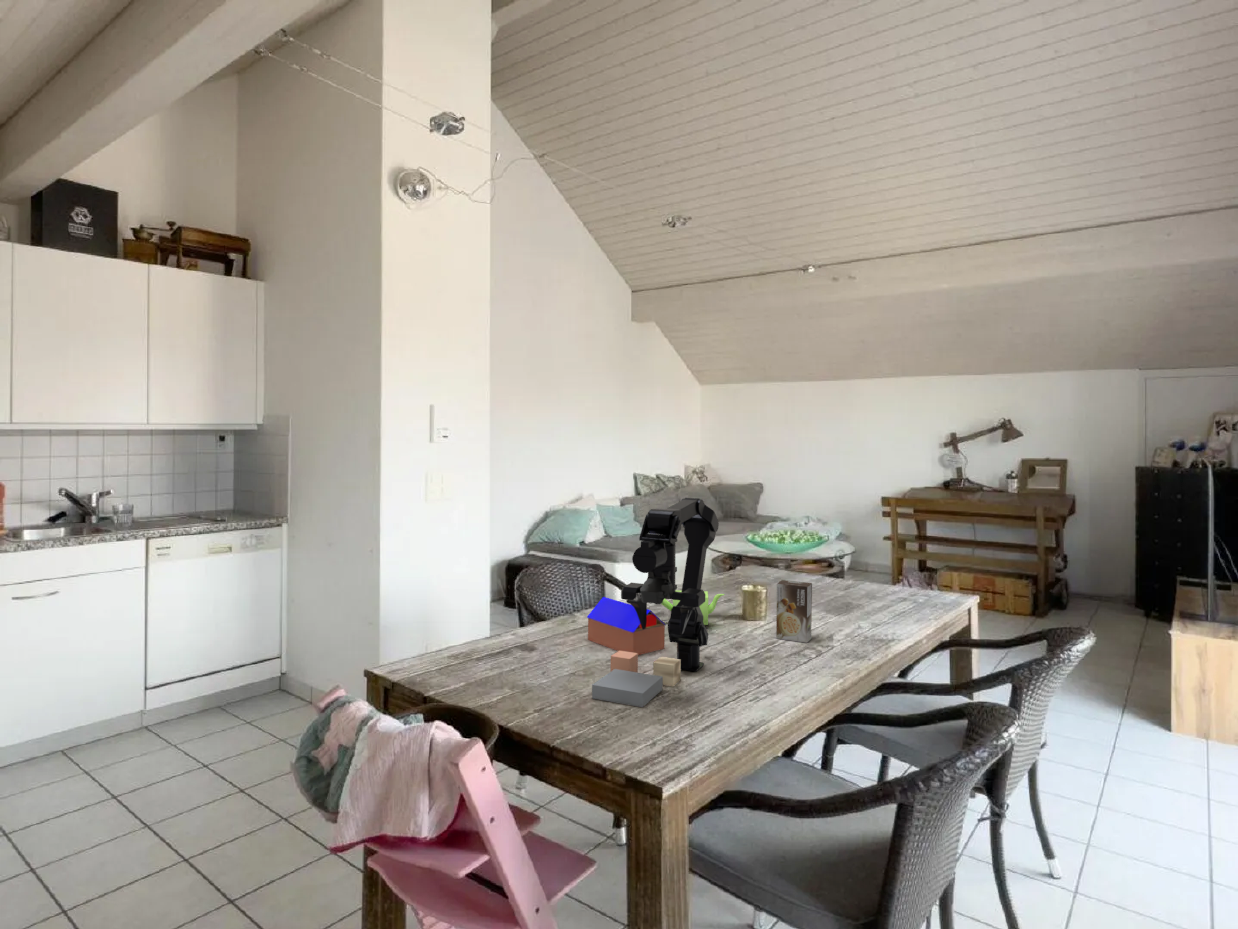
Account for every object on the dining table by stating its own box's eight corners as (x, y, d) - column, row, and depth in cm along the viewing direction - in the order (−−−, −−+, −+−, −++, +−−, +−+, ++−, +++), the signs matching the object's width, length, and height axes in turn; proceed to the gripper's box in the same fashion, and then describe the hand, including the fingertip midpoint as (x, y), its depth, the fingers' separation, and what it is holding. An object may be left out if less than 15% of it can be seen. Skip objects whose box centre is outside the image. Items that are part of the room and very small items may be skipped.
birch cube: (660, 677, 174) (661, 656, 174) (680, 680, 172) (680, 659, 172) (653, 683, 169) (653, 662, 169) (673, 687, 167) (673, 665, 167)
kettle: (724, 626, 221) (725, 589, 220) (692, 634, 211) (693, 596, 211) (688, 616, 232) (689, 581, 231) (656, 623, 223) (657, 587, 222)
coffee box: (812, 638, 209) (813, 582, 208) (807, 643, 203) (808, 586, 203) (780, 633, 213) (782, 579, 213) (774, 638, 208) (776, 583, 207)
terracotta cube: (618, 670, 178) (619, 650, 178) (637, 673, 176) (637, 653, 176) (610, 676, 174) (610, 656, 174) (629, 679, 172) (629, 659, 171)
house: (632, 657, 189) (633, 613, 189) (586, 640, 204) (586, 599, 204) (666, 649, 197) (666, 606, 196) (618, 633, 212) (619, 593, 212)
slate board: (614, 681, 170) (614, 669, 170) (662, 689, 165) (662, 676, 165) (591, 698, 159) (592, 684, 159) (642, 707, 154) (642, 693, 154)
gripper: (610, 567, 161) (611, 636, 163) (690, 575, 154) (690, 647, 155) (630, 558, 172) (630, 623, 173) (706, 565, 164) (705, 632, 165)
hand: (662, 631), depth 166 cm, fingers open, 9 cm apart
